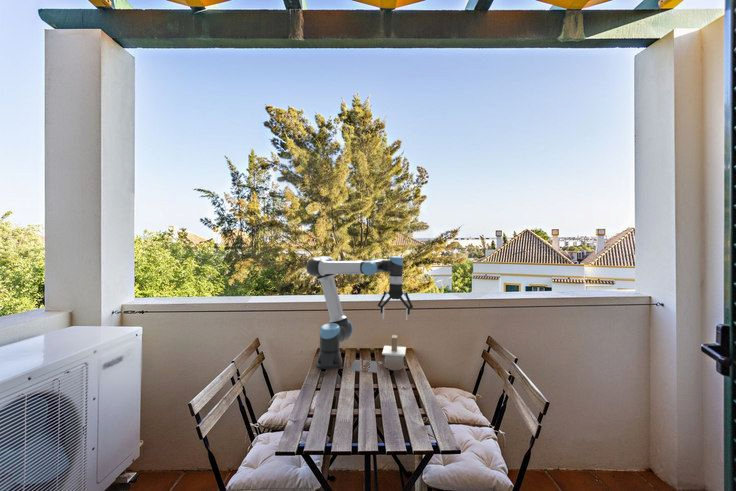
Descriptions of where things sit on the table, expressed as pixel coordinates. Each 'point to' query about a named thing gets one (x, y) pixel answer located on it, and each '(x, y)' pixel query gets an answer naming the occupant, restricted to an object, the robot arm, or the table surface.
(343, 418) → the table surface
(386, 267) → the robot arm
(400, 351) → the lid
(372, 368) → the mat
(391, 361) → the planter
